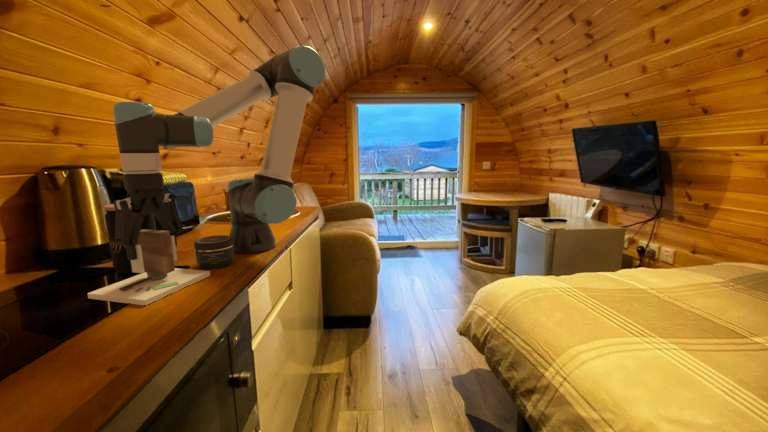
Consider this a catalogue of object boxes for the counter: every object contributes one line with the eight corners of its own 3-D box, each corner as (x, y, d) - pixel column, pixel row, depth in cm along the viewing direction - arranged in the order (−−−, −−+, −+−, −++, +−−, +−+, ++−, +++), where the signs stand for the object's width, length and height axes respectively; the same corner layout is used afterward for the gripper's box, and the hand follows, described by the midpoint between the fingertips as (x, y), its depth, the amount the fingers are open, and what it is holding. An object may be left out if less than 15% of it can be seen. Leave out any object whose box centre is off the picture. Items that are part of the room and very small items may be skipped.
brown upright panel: (152, 272, 84) (145, 228, 82) (177, 275, 82) (171, 230, 80) (107, 289, 74) (98, 239, 72) (135, 292, 72) (127, 241, 70)
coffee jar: (104, 272, 90) (92, 206, 87) (142, 260, 100) (133, 200, 97) (133, 275, 87) (122, 207, 83) (169, 263, 97) (161, 202, 94)
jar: (237, 266, 93) (234, 240, 92) (196, 273, 88) (193, 245, 87) (233, 257, 102) (231, 233, 100) (196, 262, 97) (193, 237, 96)
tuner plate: (160, 270, 90) (160, 266, 90) (210, 275, 86) (209, 270, 86) (88, 298, 73) (87, 292, 73) (146, 305, 69) (145, 299, 69)
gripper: (169, 170, 88) (179, 252, 92) (79, 175, 68) (98, 280, 72) (192, 170, 86) (202, 254, 90) (108, 175, 66) (125, 283, 70)
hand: (156, 265), depth 81 cm, fingers open, 8 cm apart
